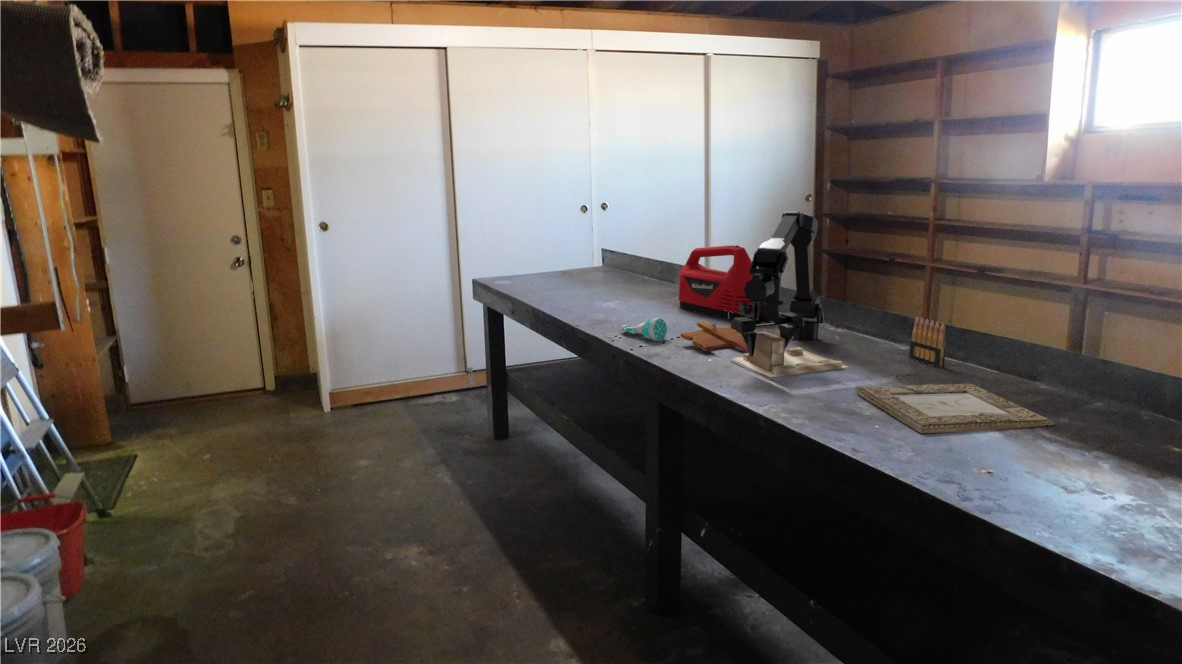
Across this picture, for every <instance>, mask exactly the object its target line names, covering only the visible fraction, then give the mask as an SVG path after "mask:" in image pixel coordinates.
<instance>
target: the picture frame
mask: <svg viewBox="0 0 1182 664" xmlns="http://www.w3.org/2000/svg"><path fill="white" fill-rule="evenodd" d="M854 390H855V393H856V394H858V395H859V396H860V397H861V398H863V399H865V400H866V401H868V402H869V403H870V404H873V405H875V406H876V407H878V408H879V409H881V410H883V411H884V412H886V413H887V414H889V415H890V416H892V417H894V418H896V419H897V420H898V421H900V422H901V423H903V424H905V425H907V426H908V427H910V428H912V429H913V430H915V431H916V432H918V433H919V434H936V433H937V434H939V433H941V434H942V433H958V432H960V433H961V432H977V431H990V430H991V431H992V430H1003V429H1005V430H1006V429H1018V428H1020V429H1021V428H1031V427H1032V428H1033V427H1034V428H1035V427H1046V425H1048V426H1055V425H1056V422H1053V420H1051V419H1048V418H1047V417H1045V416H1043V415H1040V414H1038V413H1036V412H1034V411H1031V410H1029V409H1028V408H1025V407H1024V406H1022V405H1020V404H1017V403H1014V402H1013V401H1010V400H1008V399H1006V398H1004V397H1002V396H1000V395H999V396H998V394H996V393H993V392H991V391H990V390H986V389H985V388H983V387H980V386H978V385H976V384H974V383H972V382H971V383H951V384H949V383H948V384H945V383H944V384H941V383H940V384H936V383H935V384H933V383H932V384H931V383H930V384H927V383H926V384H909V385H907V384H905V385H898V384H893V385H875V386H855V387H854Z"/></svg>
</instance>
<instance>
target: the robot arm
mask: <svg viewBox="0 0 1182 664" xmlns="http://www.w3.org/2000/svg"><path fill="white" fill-rule="evenodd" d="M818 228H819V222H818V219H817V218H816V217H814V215H808V214H805V213H803V212H801V211H787V210H786V211H785V212H782V215H781V220H780V222H779V223H778V224H777V226H776V229H775V230H774V232H773V234H771V235H772V236H771V237H770V238H769V239H768V240H766V241H764V242H762V243H761V244H760V245H759V246H758V248H757V250H755V252H754V254H753V257H752V260H751V261H752V264H751V268H750V271H749V274H753V275H752V280H750V281H748V282H747V283H746V285H745V287H744V293H745V296H746V297H747V298H748V299H749V300H750V301H752V302H754V304H752V305H749V304H748V302H743V303H739V314H740V315H745V317H740V318H734V319H733V320H731V322H730V326H731V328H732V329H734V330H736V332H739V333H740V334H741V335H742V336H743V338H744V341H745V343H746V346H747V350H748V353H749V355H750V356H751V357H753V354H754V349H755V342H756V335H757V333H756V330H757V328H759V327H760V328H761V327H770V326H778V329H779V337H781V338H784V339H785V349H784V351H786V350H787V347H788V345H789V343H790V342H791V341H793V342H794V341H795V342H796V341H797V342H800V341H801V342H802V341H803V342H804V341H805V342H811V341H816V340H818V339H819V325H820V324H824V323H825V322H824V321H825V318H824V317H825V315H824V314H825V313H824V309H823V306H822V304H821V302H820V296H819V295H818V293H817V292H816V291H815V289H814V283H813V282H814V281H813V280H814V279H813V263H812V262H813V261H812V243H813V241H814V239H815V238H816V236H817V232H818V230H819V229H818ZM789 245H791V246H792V247H793V253H794V255H793V256H794V271H795V273H794V275H795V286H796V287H795V288H796V293H795V295H794V296H793V297H792V299H791V302H790V307H789V312H783V313H780V311H781V308H780V307H781V306H783V305H784V300H781V289H782V287H781V286H782V276H783V274H784V272H785V271H786V267H787V264H788V261H789V257H788V253H787V249H788V248H789ZM751 317H752V318H756V319H757V320H752V319H750V318H751Z"/></svg>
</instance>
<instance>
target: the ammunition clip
mask: <svg viewBox="0 0 1182 664" xmlns="http://www.w3.org/2000/svg"><path fill="white" fill-rule="evenodd" d="M945 327H946V326H945V323H944V322H942V323H941V325H940V322H939V320H937V321H935V322H934V320H933V319H931V321H929V319H928V317H927V318H926V319H925V320H924V317H921V318H919V316H916V317H915V320H914V323H913V328H912V329H913V330H912V334H911V335H912V337H911V340H910V343H909V350H908V351H909V352H908V359H909V358H911V359H910V360H912V359H915V360H918V361H921V362H924V363H927V364H926V365H928V364H931V365H934V366H937V367H942V366H944V367H945V359H946V348H945V343H946V335H945V333H946V328H945ZM915 360H914V361H915ZM918 361H917V362H918ZM921 362H920V363H921ZM924 363H923V364H924ZM931 365H930V366H931ZM934 366H933V367H934ZM937 367H936V368H937ZM942 368H943V367H942Z"/></svg>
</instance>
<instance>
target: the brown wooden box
mask: <svg viewBox="0 0 1182 664" xmlns="http://www.w3.org/2000/svg"><path fill="white" fill-rule="evenodd" d="M755 332H756V331H755ZM756 333H757V335H756V342H755V349H754V354H753V357H751V356H750V359H749V362H750V363H752V364H754V365H757V366H759V367H761V368H763V369H766V370H768V371H771V370H773V366H781V365H784V352H785V350H786V349H785V339H784V338H781V337H780V335H776V334H774V333H773V334H772V333H770V332H768V331H757V332H756ZM784 349H785V350H784Z"/></svg>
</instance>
